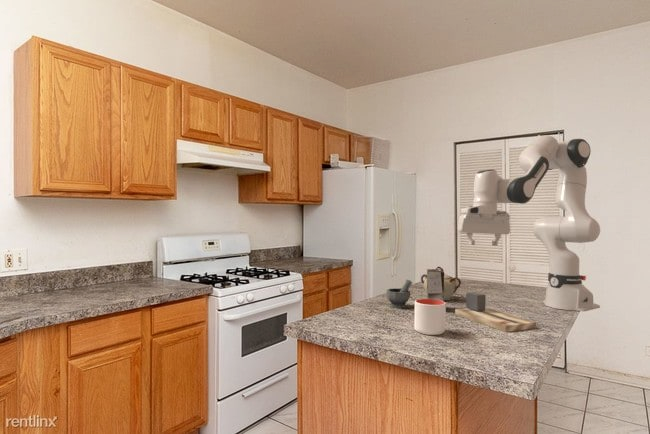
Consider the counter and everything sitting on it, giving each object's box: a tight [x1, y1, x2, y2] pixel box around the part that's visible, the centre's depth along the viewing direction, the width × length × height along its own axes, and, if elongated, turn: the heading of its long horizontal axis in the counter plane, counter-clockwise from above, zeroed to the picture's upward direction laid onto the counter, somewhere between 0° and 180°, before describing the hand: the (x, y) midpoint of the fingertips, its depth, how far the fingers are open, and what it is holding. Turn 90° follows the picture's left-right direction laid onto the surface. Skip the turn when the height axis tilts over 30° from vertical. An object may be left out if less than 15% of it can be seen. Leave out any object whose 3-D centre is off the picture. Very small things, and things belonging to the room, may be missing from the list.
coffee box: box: [426, 268, 445, 302], centre depth 166 cm, size 9×6×16 cm
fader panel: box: [454, 306, 537, 333], centre depth 148 cm, size 14×25×2 cm, turn 22°
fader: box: [465, 291, 487, 311], centre depth 156 cm, size 4×6×6 cm, turn 22°
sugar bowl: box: [420, 266, 462, 301], centre depth 186 cm, size 20×15×15 cm
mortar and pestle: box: [386, 279, 413, 309], centre depth 168 cm, size 11×9×12 cm
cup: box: [414, 298, 447, 336], centre depth 133 cm, size 10×10×10 cm
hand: (483, 245), depth 158 cm, fingers open, 8 cm apart
